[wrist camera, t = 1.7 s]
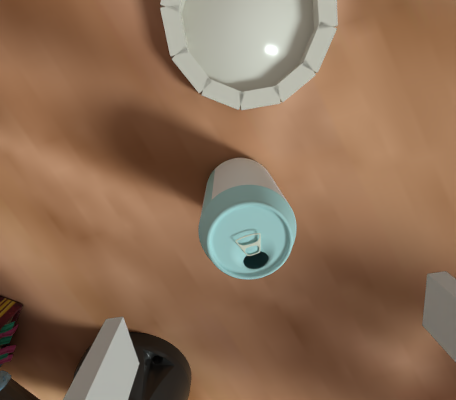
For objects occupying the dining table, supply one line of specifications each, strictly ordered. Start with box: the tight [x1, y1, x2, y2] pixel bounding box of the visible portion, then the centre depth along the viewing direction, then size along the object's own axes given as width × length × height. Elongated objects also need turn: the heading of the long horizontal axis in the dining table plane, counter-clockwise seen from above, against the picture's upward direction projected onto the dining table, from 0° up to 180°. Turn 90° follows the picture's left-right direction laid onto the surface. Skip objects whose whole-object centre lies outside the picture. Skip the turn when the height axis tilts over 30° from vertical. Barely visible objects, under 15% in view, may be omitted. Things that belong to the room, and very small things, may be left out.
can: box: [199, 158, 296, 279], centre depth 24 cm, size 7×7×12 cm
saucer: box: [160, 0, 338, 110], centre depth 24 cm, size 14×14×2 cm
